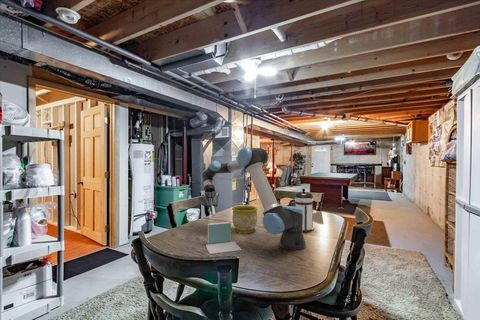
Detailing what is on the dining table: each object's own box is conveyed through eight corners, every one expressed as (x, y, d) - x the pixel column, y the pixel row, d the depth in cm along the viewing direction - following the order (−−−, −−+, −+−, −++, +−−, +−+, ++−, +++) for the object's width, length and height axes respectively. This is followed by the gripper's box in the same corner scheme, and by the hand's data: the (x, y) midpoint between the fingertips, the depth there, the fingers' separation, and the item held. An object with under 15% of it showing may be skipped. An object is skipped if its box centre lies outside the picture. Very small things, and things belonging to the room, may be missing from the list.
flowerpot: (247, 236, 163) (247, 211, 163) (227, 231, 174) (226, 208, 174) (262, 229, 178) (262, 207, 177) (242, 225, 188) (242, 204, 188)
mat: (205, 245, 147) (205, 244, 147) (234, 242, 153) (234, 241, 153) (210, 254, 134) (210, 253, 134) (241, 250, 139) (241, 249, 139)
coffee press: (311, 227, 185) (312, 187, 184) (316, 233, 169) (316, 190, 168) (288, 226, 186) (288, 186, 186) (290, 233, 170) (290, 189, 170)
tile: (207, 243, 151) (207, 223, 151) (229, 240, 155) (229, 221, 155) (208, 244, 148) (208, 224, 148) (231, 242, 152) (231, 222, 152)
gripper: (217, 190, 185) (222, 217, 170) (199, 190, 181) (203, 218, 166) (218, 183, 180) (224, 211, 164) (200, 184, 176) (204, 212, 160)
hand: (213, 215), depth 165 cm, fingers closed
